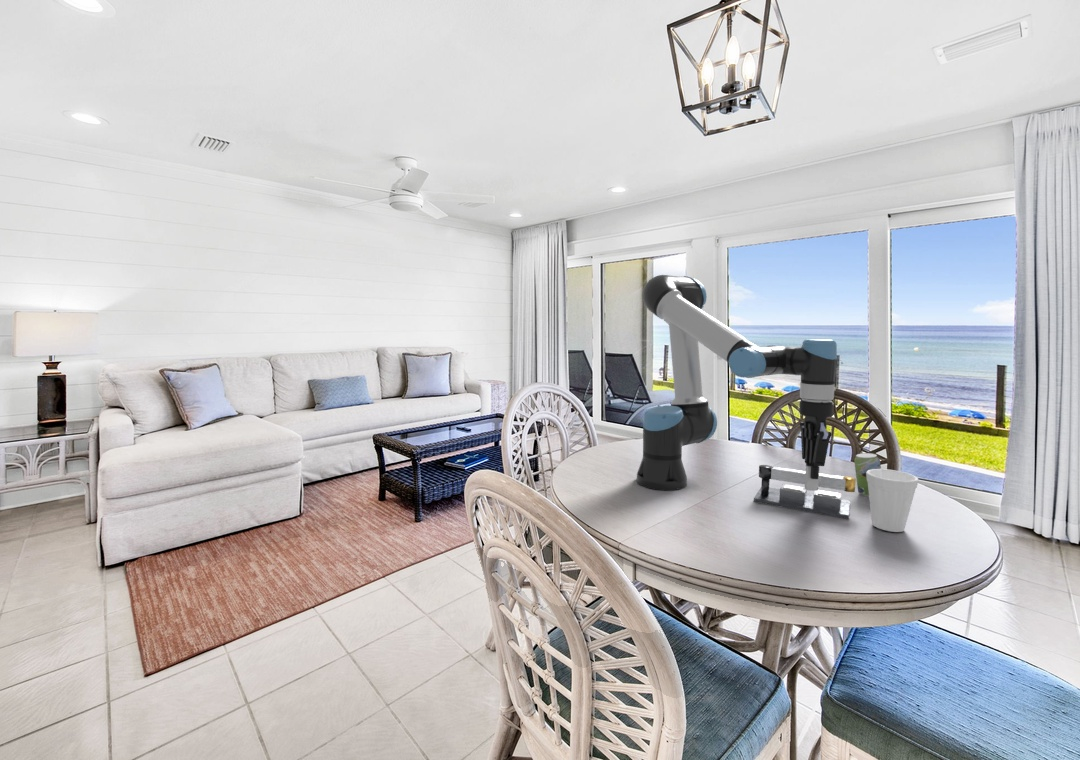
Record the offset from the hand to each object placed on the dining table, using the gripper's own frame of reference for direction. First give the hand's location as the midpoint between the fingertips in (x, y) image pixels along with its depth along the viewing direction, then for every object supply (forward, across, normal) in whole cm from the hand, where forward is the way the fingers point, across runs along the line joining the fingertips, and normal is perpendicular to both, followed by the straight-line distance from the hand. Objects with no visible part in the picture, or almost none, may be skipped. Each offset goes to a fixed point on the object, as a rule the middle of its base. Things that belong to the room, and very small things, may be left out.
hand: (811, 489), depth 123 cm
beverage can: (+6, +14, -21) cm, 26 cm away
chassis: (+6, +6, 0) cm, 8 cm away
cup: (+6, -9, -14) cm, 18 cm away
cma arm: (0, +5, 0) cm, 5 cm away
